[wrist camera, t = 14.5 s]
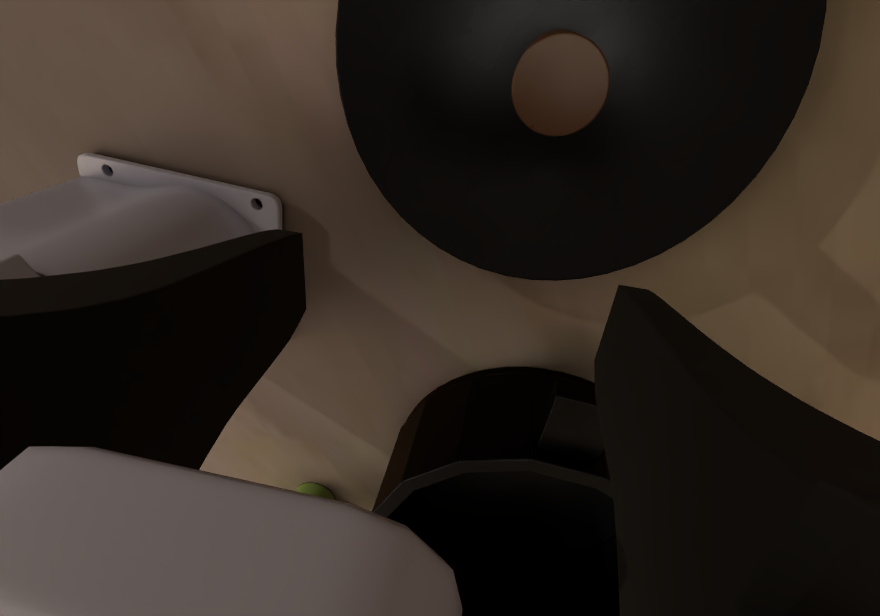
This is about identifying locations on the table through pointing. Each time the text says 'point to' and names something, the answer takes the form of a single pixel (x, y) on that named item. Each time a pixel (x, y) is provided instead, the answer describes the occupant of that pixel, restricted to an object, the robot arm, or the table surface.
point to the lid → (569, 119)
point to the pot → (511, 492)
